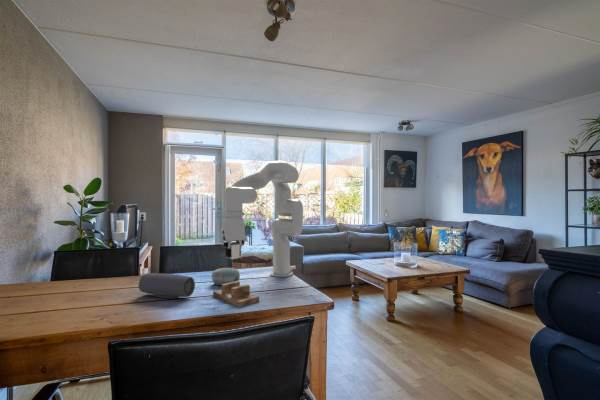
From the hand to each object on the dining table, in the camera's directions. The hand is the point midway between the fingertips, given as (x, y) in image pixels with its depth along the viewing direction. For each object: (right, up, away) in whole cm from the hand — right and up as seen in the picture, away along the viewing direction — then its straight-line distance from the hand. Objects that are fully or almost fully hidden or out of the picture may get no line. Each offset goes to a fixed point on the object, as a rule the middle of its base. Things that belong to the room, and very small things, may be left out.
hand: (233, 256), depth 139 cm
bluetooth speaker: (-29, -18, -1) cm, 34 cm away
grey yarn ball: (-8, -18, +19) cm, 27 cm away
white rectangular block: (0, -1, 0) cm, 1 cm away
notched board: (+1, -18, -3) cm, 18 cm away
